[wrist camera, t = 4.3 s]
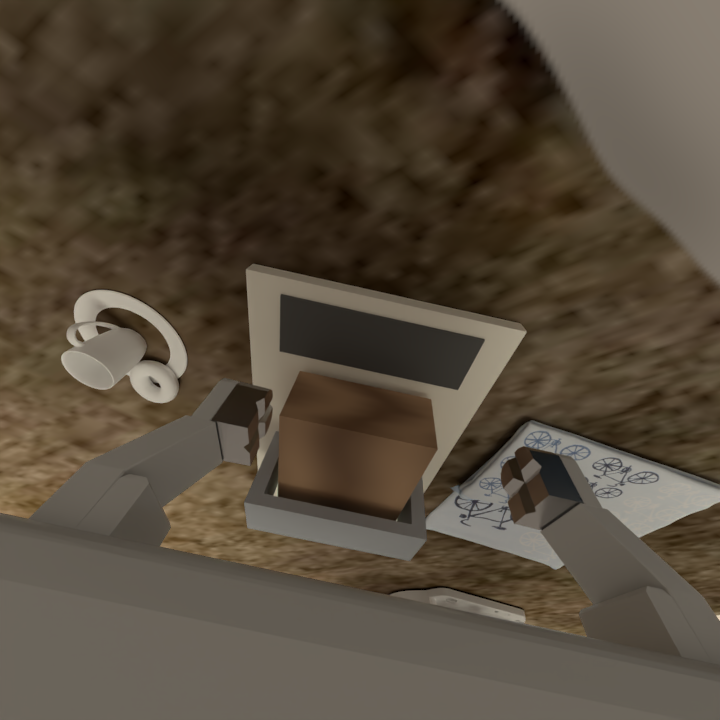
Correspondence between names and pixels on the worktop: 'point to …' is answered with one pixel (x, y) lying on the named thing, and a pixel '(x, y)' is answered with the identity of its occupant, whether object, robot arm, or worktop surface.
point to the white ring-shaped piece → (121, 349)
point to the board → (374, 347)
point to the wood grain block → (353, 445)
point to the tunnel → (333, 517)
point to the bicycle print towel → (603, 473)
